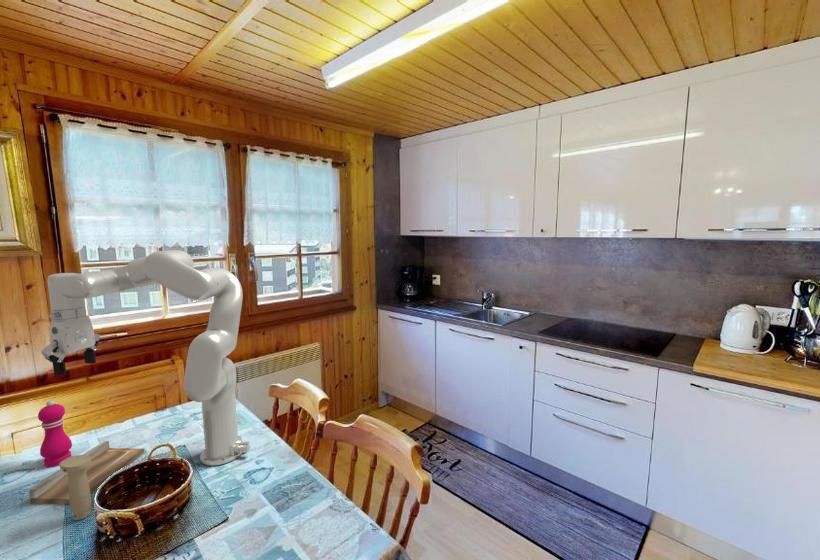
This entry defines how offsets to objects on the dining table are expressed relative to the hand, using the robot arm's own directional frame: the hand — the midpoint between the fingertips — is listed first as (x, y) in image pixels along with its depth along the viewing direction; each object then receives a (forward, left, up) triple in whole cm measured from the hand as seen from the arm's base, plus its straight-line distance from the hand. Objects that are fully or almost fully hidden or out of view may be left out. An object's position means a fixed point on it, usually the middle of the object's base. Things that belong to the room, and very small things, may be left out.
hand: (76, 368), depth 113 cm
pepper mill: (+8, +1, -30) cm, 31 cm away
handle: (-21, +23, -30) cm, 43 cm away
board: (-9, +8, -30) cm, 32 cm away
